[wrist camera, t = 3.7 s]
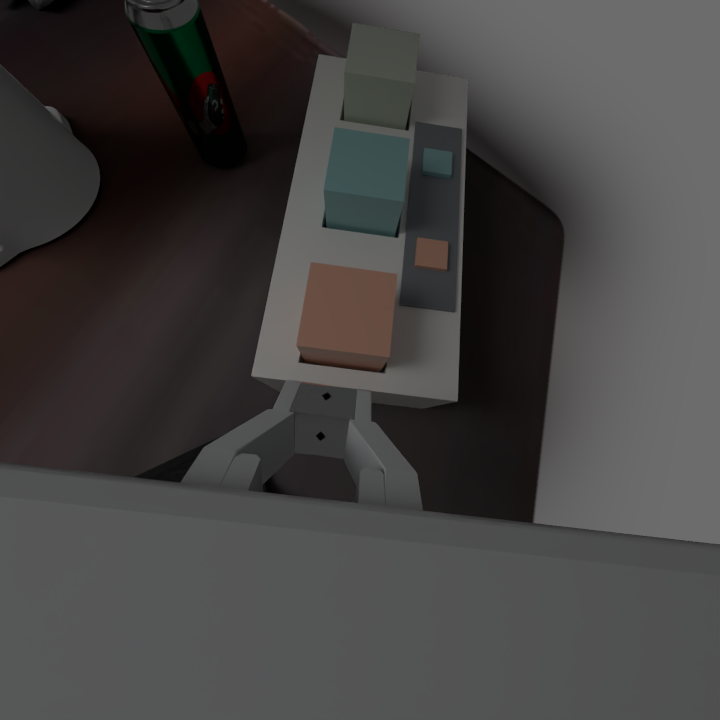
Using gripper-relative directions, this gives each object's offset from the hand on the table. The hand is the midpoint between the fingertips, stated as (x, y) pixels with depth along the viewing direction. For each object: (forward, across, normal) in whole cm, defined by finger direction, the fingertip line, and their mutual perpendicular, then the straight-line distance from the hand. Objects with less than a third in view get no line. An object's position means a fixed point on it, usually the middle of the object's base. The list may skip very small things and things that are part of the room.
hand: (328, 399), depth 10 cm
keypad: (+22, -1, 0) cm, 22 cm away
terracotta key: (+10, 0, +2) cm, 10 cm away
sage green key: (+24, 0, -12) cm, 27 cm away
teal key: (+17, 0, -5) cm, 18 cm away
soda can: (+30, +16, -8) cm, 35 cm away
